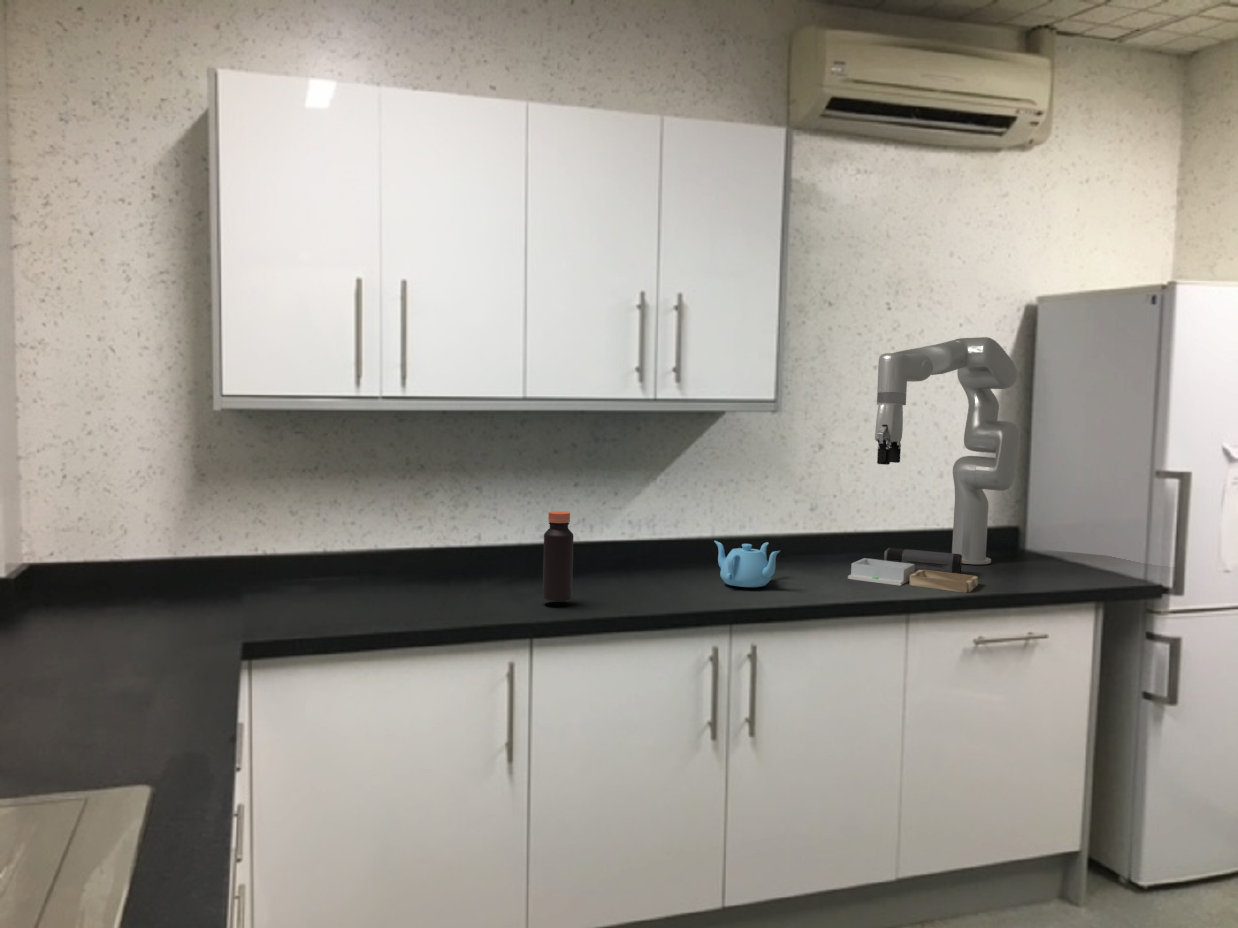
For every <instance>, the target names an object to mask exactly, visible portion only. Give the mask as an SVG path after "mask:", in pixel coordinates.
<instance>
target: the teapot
mask: <svg viewBox="0 0 1238 928" xmlns="http://www.w3.org/2000/svg"><path fill="white" fill-rule="evenodd" d="M713 542H714V543H715V545H716V546H717V548H718V556H717V561H718V563H717V565H718V566H719V569H720V573H719V574H720V578H721V580H723V582H724V583H725V584H727V585H729V586H734V587H742V588H759V587H765V586H767V584H768V583H769V582H770V581H771V579H772V576H773V575H774V574H775V572H776V566H777V564H776V563H777V562H776V559H777V555H778V554H779V553H780V552H781V550H777V551H776V550H775V551H772V552H771V553H770V554H769V558H767V548H768V545H769V542H768V541H767V542H764V543H763V544H762V545H761V546H760V549H756V548H752V547H753V544H752V543H742V544H741V547H742V548H741V547H738V548H732V549H730V551H729V553H728V554H727V556H726V554H725V548H724V545H723V544H722V543H721V542H719V541H718V540H714V541H713Z"/></svg>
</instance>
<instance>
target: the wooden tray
mask: <svg viewBox="0 0 1238 928" xmlns="http://www.w3.org/2000/svg"><path fill="white" fill-rule="evenodd" d="M978 580H979V576H977V575H972V574H964V573H961V574H956V573H948V572H940V571H931V570H923V569H922V570H918V571H917V572H915V573H913V574H911V575H910V581H909V582H908V583H909V586H912V587H920V588H929V589H934V590H936V589H937V590H943V591H949V592H950V591H951V592H958V593H970V592H972V591H973V590H974V589H975V588H976V587H978V584H979V583H978V582H979V581H978Z"/></svg>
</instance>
